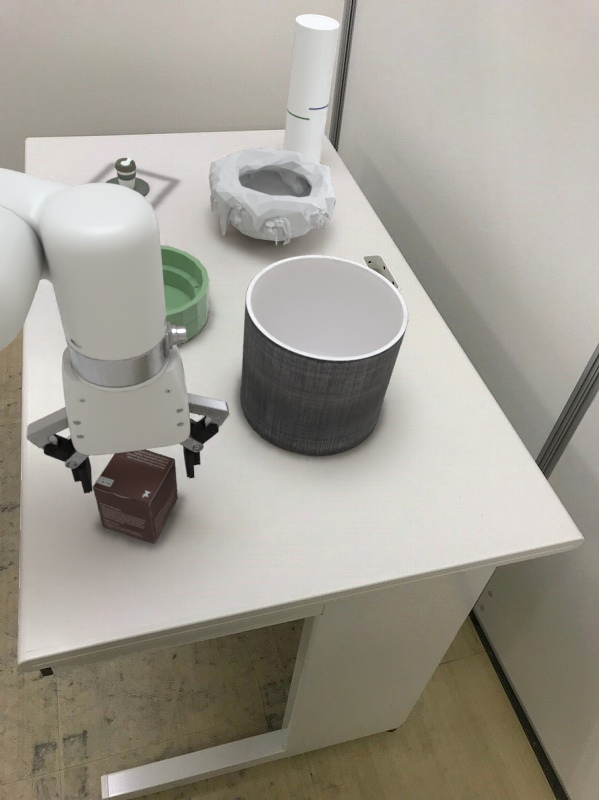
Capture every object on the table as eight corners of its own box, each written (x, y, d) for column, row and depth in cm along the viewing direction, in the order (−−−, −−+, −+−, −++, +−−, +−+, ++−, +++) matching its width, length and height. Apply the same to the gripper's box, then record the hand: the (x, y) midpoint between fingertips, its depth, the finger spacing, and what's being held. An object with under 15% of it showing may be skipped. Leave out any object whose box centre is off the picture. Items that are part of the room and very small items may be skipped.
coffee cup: (78, 196, 106) (73, 168, 103) (113, 164, 114) (110, 137, 111) (144, 214, 105) (142, 187, 101) (175, 181, 113) (174, 154, 109)
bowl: (238, 182, 115) (240, 127, 108) (345, 213, 112) (355, 159, 104) (185, 240, 101) (183, 181, 94) (305, 278, 98) (314, 221, 91)
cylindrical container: (323, 176, 120) (345, 30, 101) (286, 178, 118) (302, 29, 100) (313, 157, 124) (332, 14, 106) (277, 158, 122) (290, 13, 104)
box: (179, 499, 69) (177, 458, 64) (154, 545, 65) (149, 506, 60) (128, 482, 70) (121, 440, 65) (100, 526, 66) (90, 486, 61)
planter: (230, 446, 75) (234, 348, 63) (249, 344, 87) (255, 245, 75) (380, 465, 75) (412, 371, 64) (378, 360, 87) (405, 265, 76)
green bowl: (94, 357, 82) (88, 321, 78) (91, 282, 92) (85, 246, 88) (216, 347, 86) (216, 312, 81) (200, 275, 96) (199, 241, 91)
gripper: (222, 305, 54) (221, 433, 67) (2, 323, 50) (46, 455, 63) (237, 367, 49) (234, 492, 62) (-4, 392, 45) (45, 520, 58)
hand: (139, 473), depth 62 cm, fingers open, 9 cm apart
